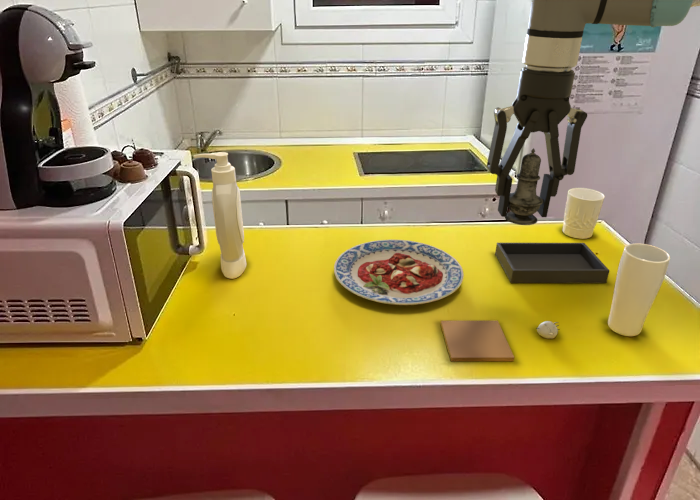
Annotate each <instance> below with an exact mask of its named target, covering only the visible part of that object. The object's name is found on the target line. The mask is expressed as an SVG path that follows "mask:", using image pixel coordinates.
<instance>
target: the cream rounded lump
mask: <svg viewBox="0 0 700 500" xmlns="http://www.w3.org/2000/svg"><path fill="white" fill-rule="evenodd" d="M559 326H560V324H559V321H555V322H553V321H552V320H551V321H550V320H545V321H543V322H541V323H540V324H539V325H538V327H536V328H535V330H536V331H537V333H538V335H539V336H541V337H542V338H544V339H554V338H556V337H557V335H558V333H559V331H560V329H561V328H558V327H559Z"/></svg>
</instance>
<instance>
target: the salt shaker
mask: <svg viewBox="0 0 700 500" xmlns="http://www.w3.org/2000/svg"><path fill="white" fill-rule="evenodd" d="M535 152H536V149H535V148H534V147H533V148H532V149H531V150H530V152H529V153H527V154H524V155H523V156H522V158H521V163H520V169H519V173H517V174H516V177H517V183H516V187H515V191H513V192H510V198H509V204H508V209H509V211H508V212H507V216H506V217H504V219H505V220H506V221H507V222H509V223H511V224H514V225H519V226H533V225H535V224H537V223H538V218H537V217H536V215H534V214H536V213H538V212H537V211H538V209H539V208H540V205H541V204H542V203H543V199H542V198H541V197H540V195H538V194H537V187H538V181H539V180H541V176H540V175H539V174H540V168H541V162H542V159H541V157H540V156H539V154H536V153H535Z"/></svg>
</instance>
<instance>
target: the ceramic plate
mask: <svg viewBox="0 0 700 500" xmlns="http://www.w3.org/2000/svg"><path fill="white" fill-rule="evenodd" d="M333 273H334V276H335V278H336V280H337V281H338V283H339V284H340V285H341V286H342V287H343V288H345V290H347V291H349V292H350V293H352V294H353V295H355V296H358V297H359V298H363V299H366V300H369V301H373V302H376V303H380V304H386V305H397V306H414V305H415V306H416V305H423V304H428V303H433V302H436V301H440V300H443V299H445V298H446V297H448V296H450V295H452V294H453V293H455V292H456V291H458V289H459V288H460V287H461V285H462V283H463V282H464V281H463V280H464V276H465V275H464V274H465V273H464V269H463V267H462V265H461V264H460V263H459V261H458V260H457V258H455V257H454V256H452V255H451V254H450V253H448V252H446V251H445V250H443V249H441V248H439V247H436V246H433V245H430V244H427V243H423V242H418V241H414V240H406V239H377V240H372V241H367V242H363V243H360V244H356V245H354V246H352V247H350V248H348V249H346V250H345V251H344V252H342V253H341V254H340V255H339V256H338V257H337V259H336V260H335V261H334V264H333Z"/></svg>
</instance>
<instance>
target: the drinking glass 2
mask: <svg viewBox="0 0 700 500" xmlns="http://www.w3.org/2000/svg"><path fill="white" fill-rule="evenodd" d="M670 261H671V256H670V254H669V253H668V252H667V251H666V250H664V249H663V248H660V247H658V246H654V245H652V244H647V243H638V242H637V243H635V242H634V243H629V244H626V245H625V246H624V247H623V251H622V254H621V257H620V260H619V263H618V267H617V272H616V277H615V283H614V289H613V295H612V300H611V305H610V310H609V315H608V318H607V325H608V327H609V329H610V330H611V331H613V332H614V333H616V334H617V335H621V336H624V337H636V336H638V335H640V334H641V333H642V330H643V328H644V324H645V322H646V320H647V318H648V315H649V313H650V311H651V309H652V308H653V307H652V306H653V304H654V302H655V300H656V298H657V296H658V293H659V292H660V289H661V287H662V285H663V282H664V281H665V277H666V275H667V272H668V269H669V264H670Z"/></svg>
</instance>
